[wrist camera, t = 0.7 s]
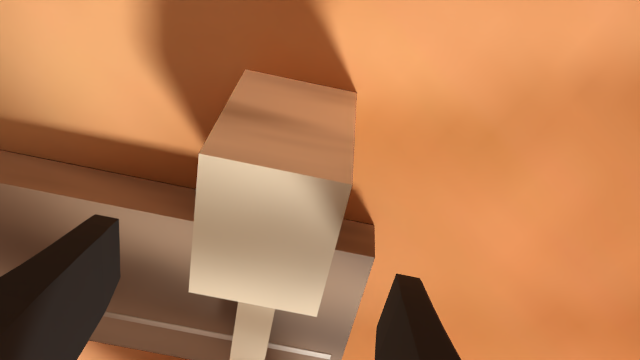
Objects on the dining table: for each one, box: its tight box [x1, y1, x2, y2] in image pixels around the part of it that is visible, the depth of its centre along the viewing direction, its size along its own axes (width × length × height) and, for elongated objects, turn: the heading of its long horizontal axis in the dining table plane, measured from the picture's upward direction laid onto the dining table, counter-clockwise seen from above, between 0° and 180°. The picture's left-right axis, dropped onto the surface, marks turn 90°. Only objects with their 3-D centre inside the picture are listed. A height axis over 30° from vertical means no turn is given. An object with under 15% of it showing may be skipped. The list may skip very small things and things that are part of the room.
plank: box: [0, 150, 375, 360], centre depth 22 cm, size 8×22×2 cm, turn 79°
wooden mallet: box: [189, 69, 357, 360], centre depth 20 cm, size 13×4×6 cm, turn 169°
